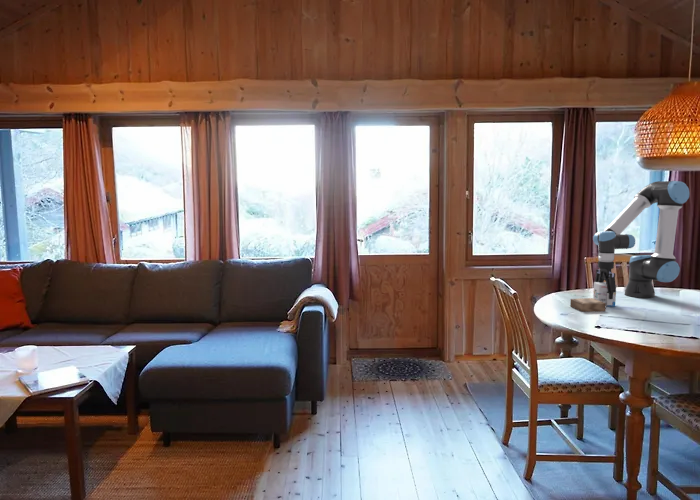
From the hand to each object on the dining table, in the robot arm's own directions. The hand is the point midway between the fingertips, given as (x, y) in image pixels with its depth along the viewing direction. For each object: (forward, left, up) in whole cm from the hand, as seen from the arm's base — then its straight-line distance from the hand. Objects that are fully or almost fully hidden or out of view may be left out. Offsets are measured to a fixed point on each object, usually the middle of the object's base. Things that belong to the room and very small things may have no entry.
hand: (604, 302), depth 273 cm
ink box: (0, 0, -1) cm, 1 cm away
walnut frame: (+13, +7, -1) cm, 15 cm away
